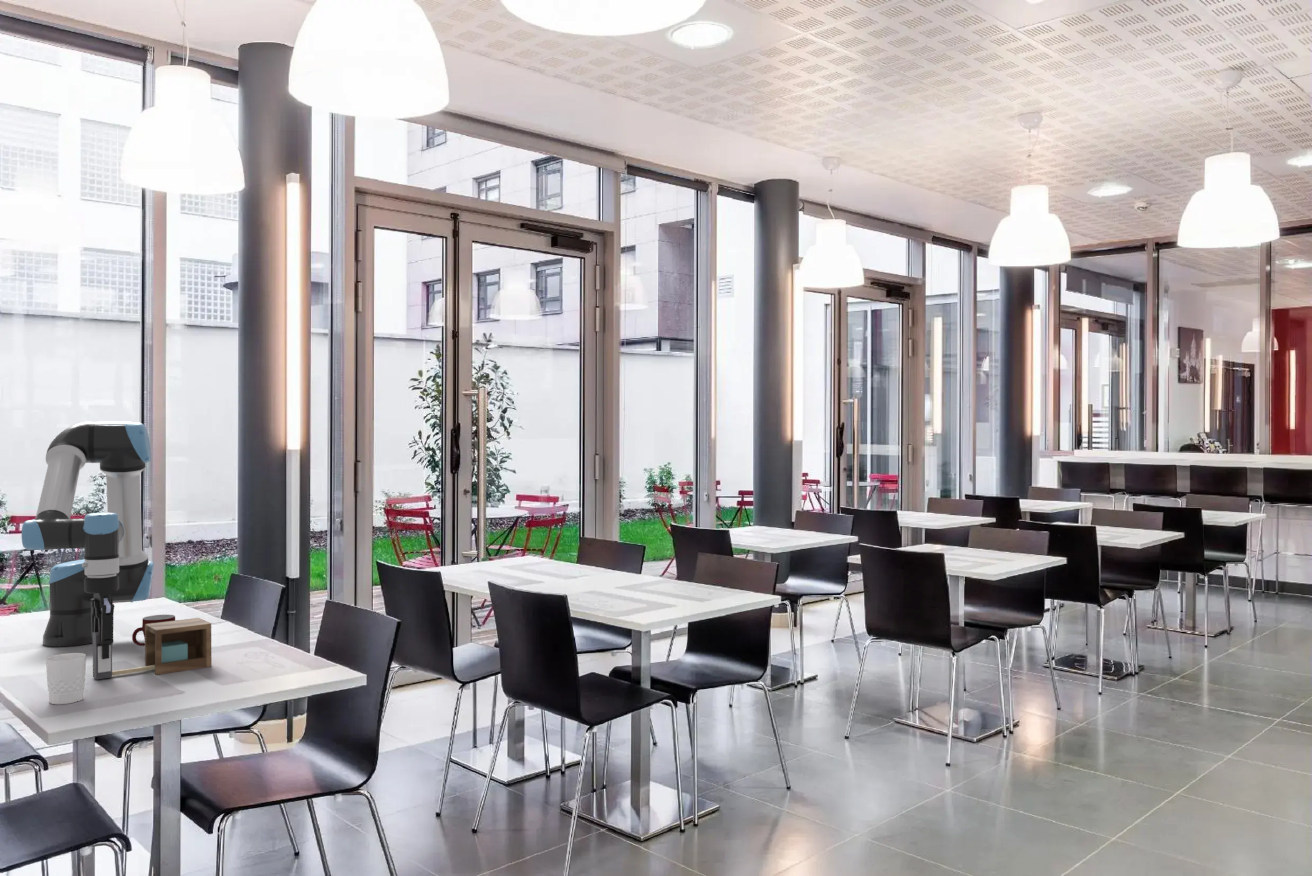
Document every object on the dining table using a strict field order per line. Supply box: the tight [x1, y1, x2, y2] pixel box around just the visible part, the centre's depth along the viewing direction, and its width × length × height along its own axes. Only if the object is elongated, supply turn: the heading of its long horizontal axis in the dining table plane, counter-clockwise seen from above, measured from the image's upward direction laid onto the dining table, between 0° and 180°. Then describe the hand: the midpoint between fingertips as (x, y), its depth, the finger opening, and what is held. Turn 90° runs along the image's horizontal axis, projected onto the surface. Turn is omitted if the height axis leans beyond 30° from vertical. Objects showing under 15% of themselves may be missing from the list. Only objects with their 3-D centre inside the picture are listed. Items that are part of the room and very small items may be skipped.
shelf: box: [144, 617, 213, 676], centre depth 258 cm, size 10×13×11 cm
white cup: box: [45, 652, 87, 705], centre depth 226 cm, size 8×8×10 cm
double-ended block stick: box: [92, 632, 188, 680], centre depth 252 cm, size 6×21×11 cm, turn 131°
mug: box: [131, 614, 176, 647], centre depth 272 cm, size 11×8×10 cm
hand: (102, 669), depth 246 cm, fingers closed on double-ended block stick, 3 cm apart
